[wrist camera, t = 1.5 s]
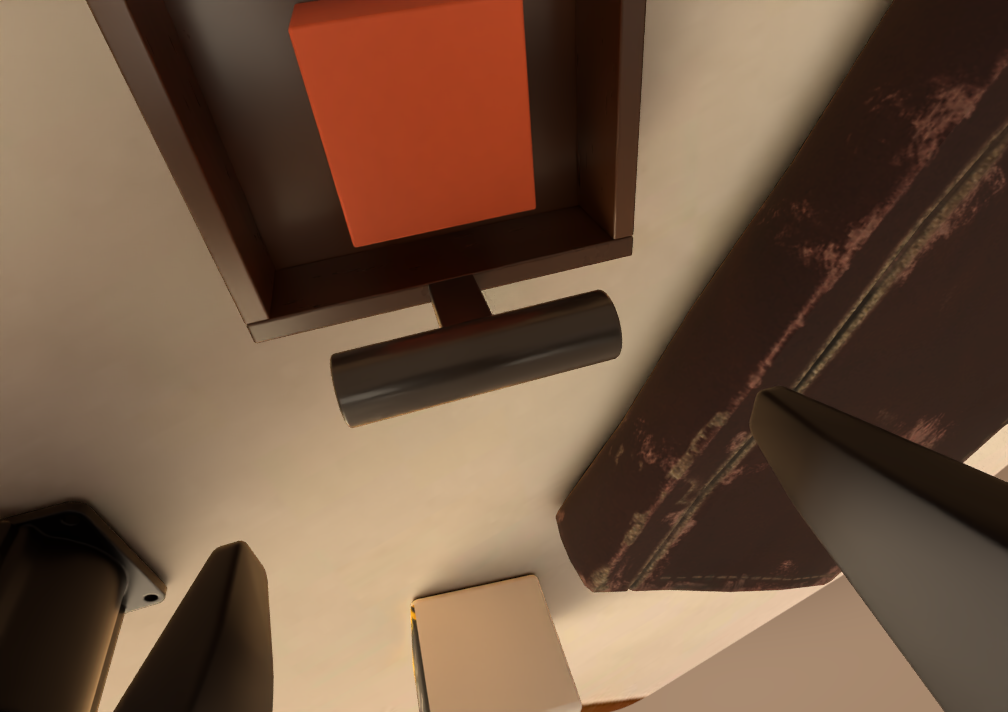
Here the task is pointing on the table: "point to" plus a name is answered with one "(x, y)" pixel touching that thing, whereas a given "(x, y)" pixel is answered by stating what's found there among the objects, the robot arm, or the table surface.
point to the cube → (419, 110)
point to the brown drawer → (408, 260)
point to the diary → (826, 318)
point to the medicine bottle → (490, 651)
